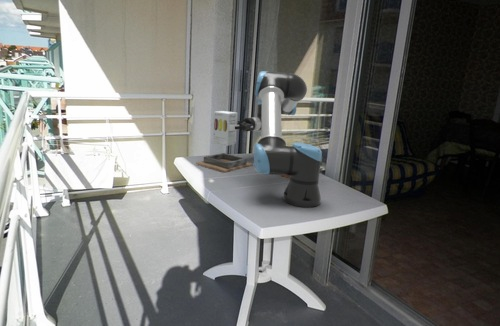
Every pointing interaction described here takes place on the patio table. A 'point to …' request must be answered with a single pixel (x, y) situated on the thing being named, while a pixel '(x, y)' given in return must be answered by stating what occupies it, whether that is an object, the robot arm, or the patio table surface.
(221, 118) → the supplement box
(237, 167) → the tub holder
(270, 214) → the patio table surface
